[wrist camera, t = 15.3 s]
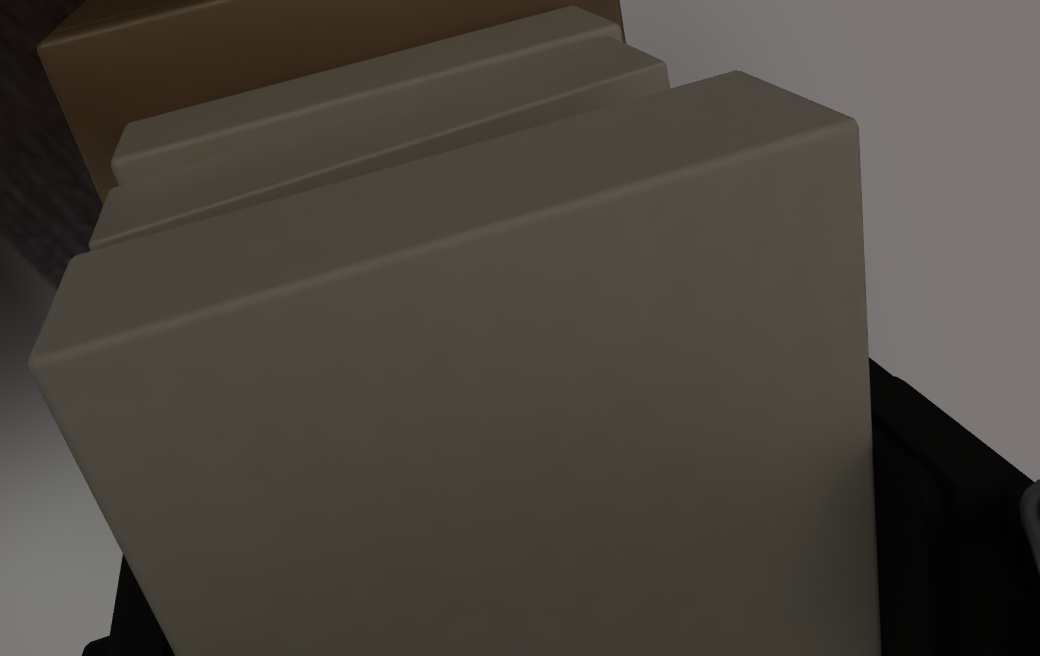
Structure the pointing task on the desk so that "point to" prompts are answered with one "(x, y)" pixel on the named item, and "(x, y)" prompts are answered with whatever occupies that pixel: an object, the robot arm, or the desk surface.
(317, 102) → the cream books
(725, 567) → the cream book
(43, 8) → the desk surface
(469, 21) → the book stand
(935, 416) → the robot arm
